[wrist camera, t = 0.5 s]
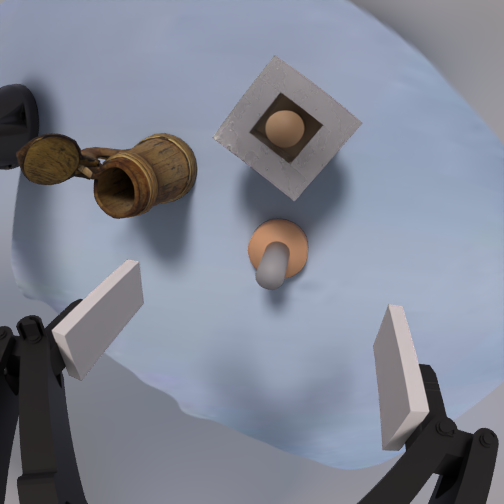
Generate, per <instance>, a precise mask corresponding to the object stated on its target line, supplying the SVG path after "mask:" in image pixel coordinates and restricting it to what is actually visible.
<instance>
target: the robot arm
mask: <svg viewBox="0 0 504 504" xmlns="http://www.w3.org/2000/svg"><path fill="white" fill-rule="evenodd" d="M37 136H38V111H37V106H36V103H35V100H34V97H33V95H32V94H31V92H30V91H29V90H28V88H26V87H25V86H23V85H21V84H12V85H6V86H3V87H1V88H0V169H5V170H9V169H13V168H16V167H19V163H18V159H17V155H16V153H17V152H18V151H19V150H20V149H21V148H22V147H23V146H24V145H25V144H27V143H28V142H29V141H31V140H32V139H34V138H36V137H37ZM143 304H144V300H143V292H142V283H141V274H140V265H139V262H138V261H133V260H128V259H127V260H126V261H125V262H124V263H123V264H122V265H121V266H120V267H118V268H117V269H116V270H115V271H114V272H113V273H112V274H111V275H110V276H108V277H107V278H106V279H105V280H104V281H103V282H102V283H101V284H100V285H99V286H98V287H96V288H95V289H94V290H93V291H92V292H91V293H90V294H89V295H88V296H87V297H86V298H85V299H84V300H83V299H78V300H76V301H74V302H73V303H71V304H70V305H69V306H68V307H67V308H66V309H65V310H63V311H62V312H61V313H60V315H58V316H57V317H56V318H55V319H54V320H53V321H52V322H51V323H50V324H49V325H48V326H47V327H46V328H45V329H44V326H43V323H42V320H41V318H39V317H38V316H35V315H30V316H26V317H24V318H22V319H21V320H20V321H19V322H18V323H17V326H16V327H17V330H18V332H19V335H20V336H14V335H13V332H12V330H11V328H9V327H7V326H1V327H0V504H4V501H5V494H6V485H7V476H8V469H9V463H10V456H11V450H12V445H13V439H14V435H15V430H16V425H17V421H18V416H19V432H20V448H21V460H22V470H23V474H22V476H20V477H18V479H17V488H18V495H19V501H20V504H88V503H87V501H86V499H85V496H84V492H83V488H82V485H81V480H80V476H79V472H78V467H77V463H76V458H75V453H74V448H73V443H72V438H71V432H70V426H69V419H68V412H67V405H66V397H65V387H64V377H63V374H62V370H63V369H64V368H65V367H66V369H67V371H68V373H69V375H70V376H72V377H74V378H76V379H79V380H81V381H82V380H83V378H84V377H85V376H86V375H87V373H88V372H89V370H90V369H91V368H92V367H93V366H94V364H95V363H96V362H97V361H98V359H99V358H100V357H101V355H102V354H103V353H104V352H105V350H106V349H107V348H108V347H109V345H110V344H111V343H112V342H113V340H114V339H115V338H116V337H117V335H118V334H119V333H120V332H121V331H122V329H123V328H124V327H125V326H126V324H127V323H128V322H129V321H130V320H131V318H132V317H133V316H134V315H135V313H136V312H137V311H138V310H139V309H140V307H141V306H142V305H143ZM373 348H374V356H375V365H376V374H377V383H378V393H379V405H380V418H381V433H382V450H394V451H399V450H400V449H401V448H402V447H403V445H404V444H405V446H406V452H405V453H404V455H403V456H402V457H401V458H400V459H399V460H398V461H397V462H396V464H395V465H394V466H393V467H392V468H391V470H390V471H389V472H388V473H387V474H386V475H385V476H384V477H383V478H382V479H381V480H380V481H379V482H378V483H377V485H375V487H374V488H373V489H372V490H371V491H370V492H369V493H368V494H367V495H366V496H365V497H364V498H362V499H361V500H360V501H359V502H358V503H357V504H410V502H411V501H412V500H413V499H414V497H415V496H416V495H417V494H418V492H419V491H420V490H421V488H422V487H423V486H424V484H425V483H426V482H427V480H428V479H429V478H430V476H431V475H432V474H433V473H435V474H439V478H438V480H437V483H436V486H435V488H434V491H433V493H432V496H431V498H430V500H429V503H428V504H486V501H487V497H488V493H489V489H490V485H491V481H492V477H493V472H494V467H495V462H496V456H497V451H498V445H499V443H498V438H497V435H496V434H495V433H494V432H493V431H492V430H490V429H488V428H481V429H479V430H477V431H476V432H475V433H474V434H471V433H467V432H464V431H461V430H458V429H457V426H456V424H455V422H453V421H452V420H451V419H450V418H448V417H447V416H446V412H445V407H444V403H443V399H442V395H441V391H440V388H439V384H438V380H437V377H436V373H435V372H434V370H433V369H432V368H431V366H430V365H425V364H418V360H417V356H416V352H415V348H414V345H413V341H412V337H411V334H410V330H409V327H408V324H407V320H406V317H405V314H404V310H403V307H402V306H397V305H390V304H388V307H387V310H386V313H385V316H384V318H383V321H382V324H381V326H380V329H379V332H378V334H377V337H376V340H375V342H374V345H373Z"/></svg>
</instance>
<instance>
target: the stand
mask: <svg viewBox="0 0 504 504" xmlns="http://www.w3.org/2000/svg"><path fill="white" fill-rule="evenodd" d="M321 125H322V124H321V123H320V122H319V121H318V120H316V119H315V118H314V117H313V116H311V115H310V114H309V113H308V112H306V111H305V110H304V109H302V108H301V107H300V106H299V105H297V104H296V103H295V102H293V101H292V100H291V99H289V98H288V97H287V96H284V97H283V98H282V99H281V101H280V102H279V103H278V104H277V106H276V107H275V108H274V109H273V111H272V112H271V113H270V114H269V116H268V117H267V118H266V119H265V121H264V122H263V123H262V125H261V126H260V127H259V128H258V130H259V131H260V132H262V133H263V134H264V135H266V136H267V137H268V138H269V140H270V141H271V142H272V143H273V144H275V145H277V146H279V147H281V148H283V149H284V150H285V151H286V152H288V153H289V154H290V155H291V156H293V157H295V156H296V155H297V153H298V152H299V151H300V150H301V149H302V147H303V146H304V145H305V144H306V143H307V141H308V140H309V139H310V138H311V137H312V136H313V134H314V133H315V132H316V131H317V130H318V128H319V127H320V126H321Z"/></svg>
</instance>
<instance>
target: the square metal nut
mask: <svg viewBox="0 0 504 504" xmlns="http://www.w3.org/2000/svg"><path fill="white" fill-rule="evenodd" d="M284 96H287V97H288V98H289V99H291V100H292V101H293V102H295V103H296V104H297V105H299V106H300V107H301V108H302V109H304V110H305V111H306V112H308V113H309V114H310V115H311V116H313V117H314V118H315V119H316V120H318V121H319V122H320V123H321V124H322V125H321V126H320V127H319V128H318V130H317V131H316V132H315V133H314V134H313V136H312V137H311V138H310V139H309V140H308V141H307V143H306V144H305V145H304V146H303V147H302V149H301V150H300V151H299V152H298V153H297V155H296V156H295V157H293V156H291V155H290V154H289V153H288V152H286V151H285V150H284V149H283V148H281V147H279V146H277V145H275V144H273V143H272V142H271V141H270V140H269V138H268V137H267V136H266V135H264V134H263V133H262V132H260V131H259V130H258V128H259V127H260V126H261V125H262V123H263V122H264V121H265V119H266V118H267V117H268V116H269V114H270V113H271V112H272V111H273V109H274V108H275V107H276V106H277V104H278V103H279V102H280V101H281V99H282V98H283V97H284ZM361 124H362V122H361V121H360V120H358V119H357V118H356V117H355V116H354V115H353V114H351V113H350V112H349V111H348V110H347V109H346V108H344V107H343V106H342V105H341V104H340V103H338V102H337V101H336V100H335V99H333V98H332V97H331V96H330V95H328V94H327V93H326V92H325V91H323V90H322V89H321V88H319V87H318V86H317V85H315V84H314V83H313V82H312V81H310V80H309V79H308V78H306V77H305V76H303V75H302V74H301V73H299V72H298V71H297V70H295V69H294V68H292V67H291V66H290V65H288V64H287V63H285V62H284V61H282V60H281V59H279V58H278V57H277V56H274V57H273V58H272V59H271V61H270V62H269V63H268V64H267V66H266V67H265V68H264V69H263V71H262V72H261V73H260V74H259V76H258V77H257V78H256V80H255V81H254V82H253V83H252V85H251V86H250V87H249V89H248V90H247V91H246V93H245V94H244V95H243V96H242V98H241V99H240V100H239V102H238V103H237V104H236V106H235V107H234V109H233V110H232V111H231V113H230V114H229V115H228V117H227V118H226V119H225V121H224V122H223V124H222V125H221V126H220V128H219V129H218V131H217V132H216V133H215V135H214V136H213V139H214V140H216V141H217V142H219V143H220V144H221V145H223V146H224V147H225V148H227V149H228V150H229V151H231V152H232V153H233V154H235V155H236V156H237V157H239V158H240V159H241V160H242V161H244V162H245V163H246V164H248V165H249V166H250V167H252V168H253V169H254V170H255V171H257V172H258V173H259V174H261V175H262V176H263V177H264V178H266V179H267V180H268V181H270V182H271V183H272V184H273V185H275V186H276V187H277V188H278V189H280V190H281V191H282V192H283V193H285V194H286V195H287V196H288V197H290V198H291V199H292V200H293V201H295V200H296V199H297V198H298V197H299V196H300V194H301V193H302V192H303V191H304V190H305V189H306V188H307V186H308V185H309V184H310V183H311V182H312V181H313V180H314V178H315V177H316V176H317V175H318V174H319V173H320V171H321V170H322V169H323V168H324V167H325V166H326V165H327V163H328V162H329V161H330V160H331V159H332V158H333V157H334V155H335V154H336V153H337V152H338V151H339V150H340V148H341V147H342V146H343V145H344V144H345V143H346V142H347V140H348V139H349V138H350V137H351V136H352V135H353V134H354V132H355V131H356V130H357V129H358V128H359V127H360V126H361Z"/></svg>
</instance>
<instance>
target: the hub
mask: <svg viewBox="0 0 504 504" xmlns="http://www.w3.org/2000/svg"><path fill="white" fill-rule="evenodd" d="M248 254H249V258H250V261H251V263H252V264H253V266H254V267H255V268H256V269H257V272H256V281H257V283H258V284H259V285H260V286H261V287H263V288H265V289H268V290H274V289H277V288H279V287H280V286H281V285H282V284H283V282H284V278H289V277H292V276H294V275H295V274H297V273H298V272H299V271H300V270H301V269H302V268H303V267H304V265H305V263H306V260H307V254H308V241H307V238H306V235H305V234H304V232H303V231H302V229H301V228H300V227H299V226H297V225H296V224H295V223H293V222H291V221H288V220H284V219H272V220H269V221H266V222H264V223H262V224H261V225H260V226H259V227H258V228H257V229H256V230H255V232H254V234H253V236H252V238H251V240H250V242H249V246H248Z"/></svg>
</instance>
